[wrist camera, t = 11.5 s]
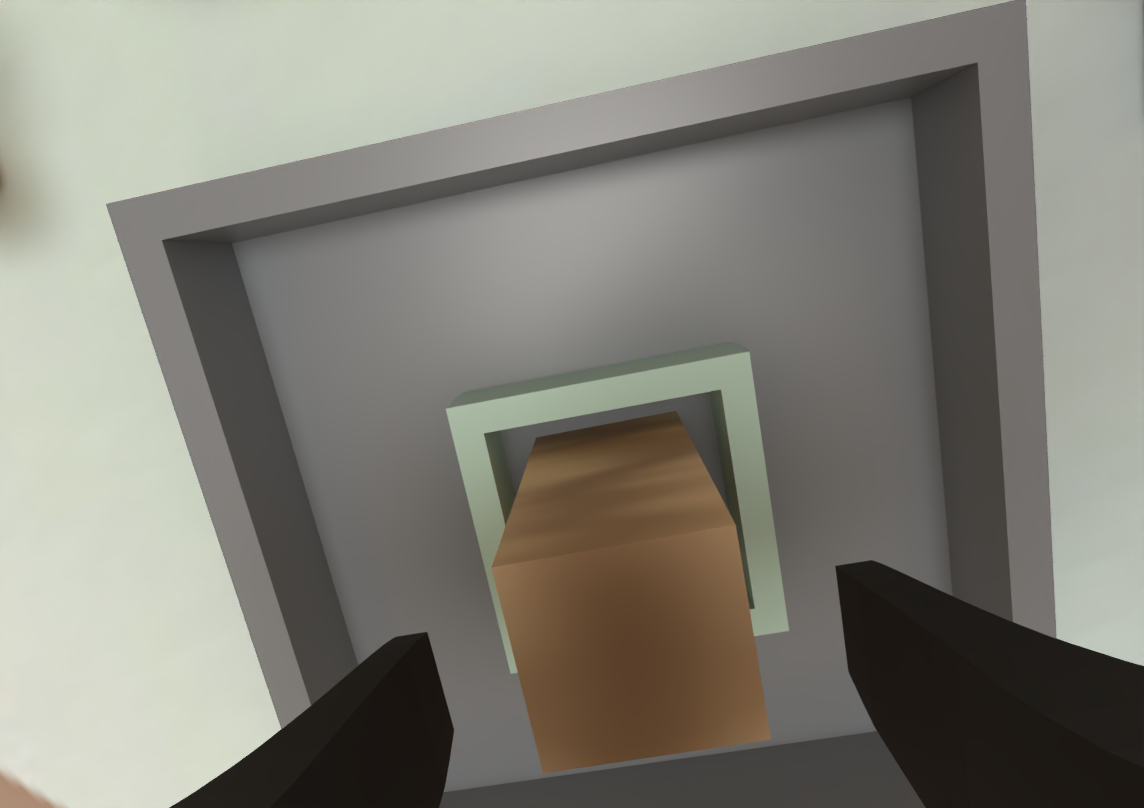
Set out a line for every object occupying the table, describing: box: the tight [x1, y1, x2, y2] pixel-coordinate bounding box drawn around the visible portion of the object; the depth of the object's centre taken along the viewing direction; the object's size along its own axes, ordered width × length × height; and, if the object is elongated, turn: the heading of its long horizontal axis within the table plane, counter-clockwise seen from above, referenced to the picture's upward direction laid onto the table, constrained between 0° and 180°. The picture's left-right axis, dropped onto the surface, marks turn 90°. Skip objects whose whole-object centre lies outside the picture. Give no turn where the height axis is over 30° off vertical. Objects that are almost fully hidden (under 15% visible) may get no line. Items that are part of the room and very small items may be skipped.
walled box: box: [106, 0, 1056, 808], centre depth 18 cm, size 20×20×4 cm
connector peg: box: [491, 411, 771, 774], centre depth 15 cm, size 4×4×8 cm
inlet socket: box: [446, 341, 789, 674], centre depth 18 cm, size 8×8×2 cm
